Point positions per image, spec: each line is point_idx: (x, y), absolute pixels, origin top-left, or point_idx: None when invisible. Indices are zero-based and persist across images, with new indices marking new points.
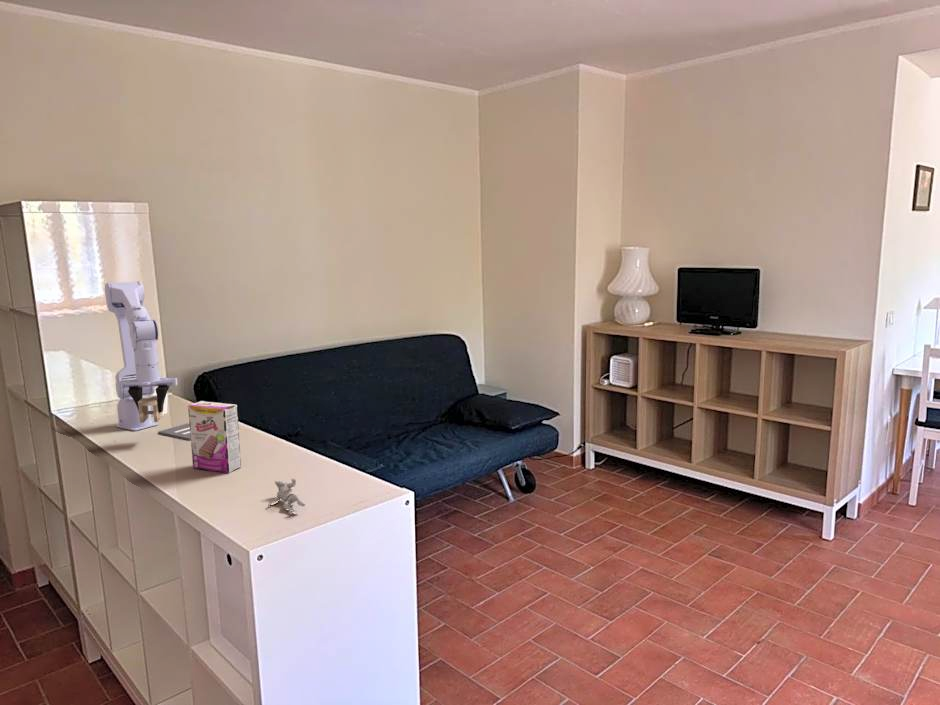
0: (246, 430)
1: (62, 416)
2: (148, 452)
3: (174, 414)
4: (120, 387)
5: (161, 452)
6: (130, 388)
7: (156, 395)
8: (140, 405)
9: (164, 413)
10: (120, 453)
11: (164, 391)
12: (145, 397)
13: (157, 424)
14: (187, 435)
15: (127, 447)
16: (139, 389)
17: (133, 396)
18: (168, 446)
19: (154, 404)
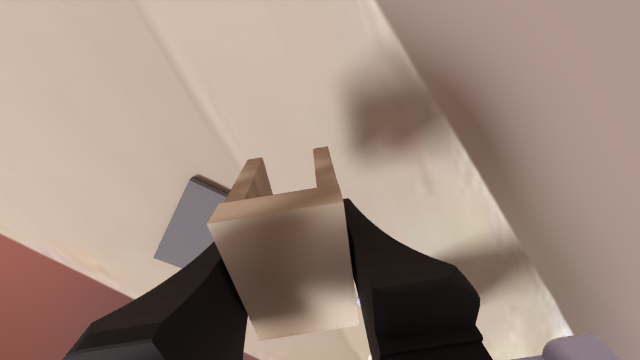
0: (75, 260)
1: None
2: (265, 43)
3: (349, 357)
4: (594, 349)
5: (212, 38)
6: (468, 347)
7: None
8: (324, 189)
9: (371, 358)
10: (368, 40)
11: (93, 323)
12: (340, 306)
13: (357, 299)
14: (215, 208)
15: (368, 114)
16: (376, 350)
17: (400, 254)
18: (228, 116)
19: (225, 205)
